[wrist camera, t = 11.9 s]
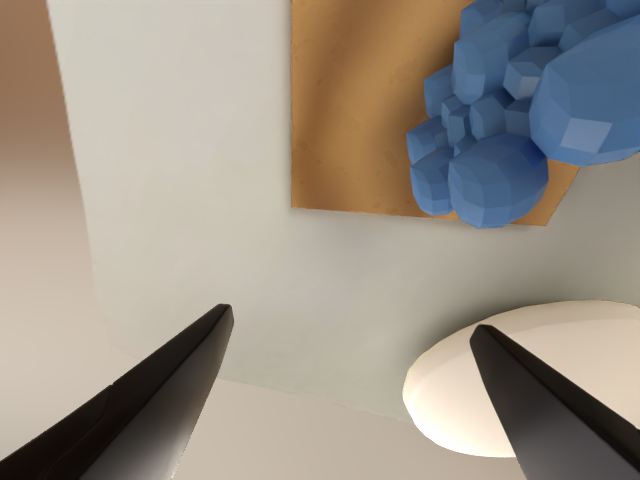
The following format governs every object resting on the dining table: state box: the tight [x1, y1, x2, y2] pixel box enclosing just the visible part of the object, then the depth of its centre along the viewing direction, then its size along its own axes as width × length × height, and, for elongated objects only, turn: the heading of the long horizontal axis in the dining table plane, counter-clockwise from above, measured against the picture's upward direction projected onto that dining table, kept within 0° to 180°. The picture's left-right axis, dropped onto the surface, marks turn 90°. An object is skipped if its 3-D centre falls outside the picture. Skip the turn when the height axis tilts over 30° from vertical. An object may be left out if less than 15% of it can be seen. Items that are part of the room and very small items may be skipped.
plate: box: [403, 300, 640, 457], centre depth 25 cm, size 28×6×27 cm
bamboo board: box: [292, 0, 580, 226], centre depth 14 cm, size 20×16×1 cm
